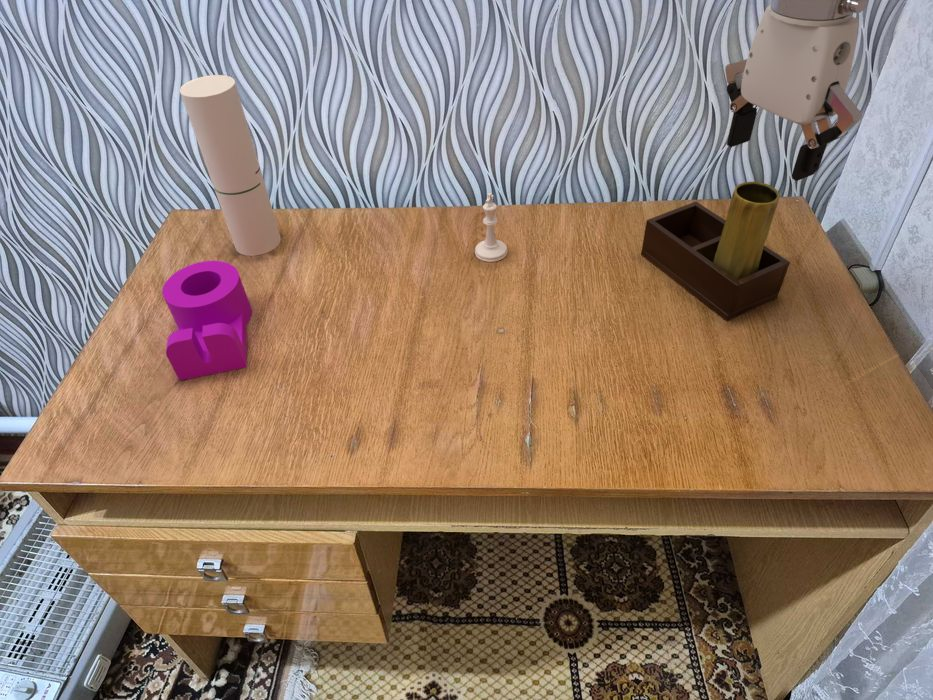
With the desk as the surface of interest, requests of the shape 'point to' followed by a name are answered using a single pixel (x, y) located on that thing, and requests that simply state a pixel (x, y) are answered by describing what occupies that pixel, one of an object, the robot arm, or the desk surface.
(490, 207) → the chess piece
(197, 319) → the magenta bearing bracket
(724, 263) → the vase
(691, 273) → the brown compartment box
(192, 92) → the cylindrical container
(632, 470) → the desk surface
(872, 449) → the desk surface
